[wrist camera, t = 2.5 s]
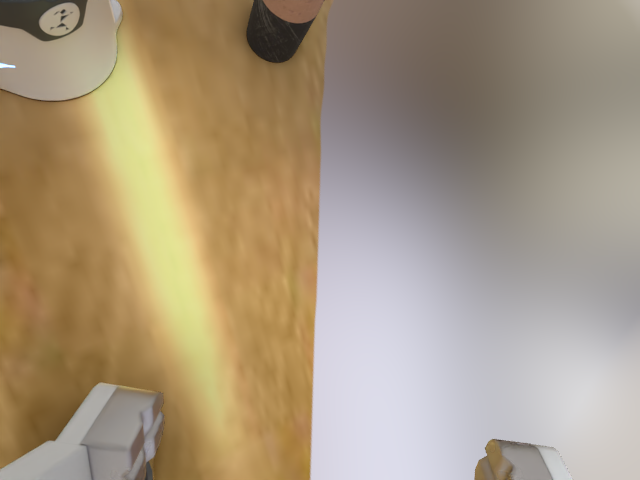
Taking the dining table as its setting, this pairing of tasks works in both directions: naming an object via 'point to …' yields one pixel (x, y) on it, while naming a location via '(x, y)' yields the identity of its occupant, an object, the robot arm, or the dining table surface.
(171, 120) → the dining table surface
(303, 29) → the travel mug
